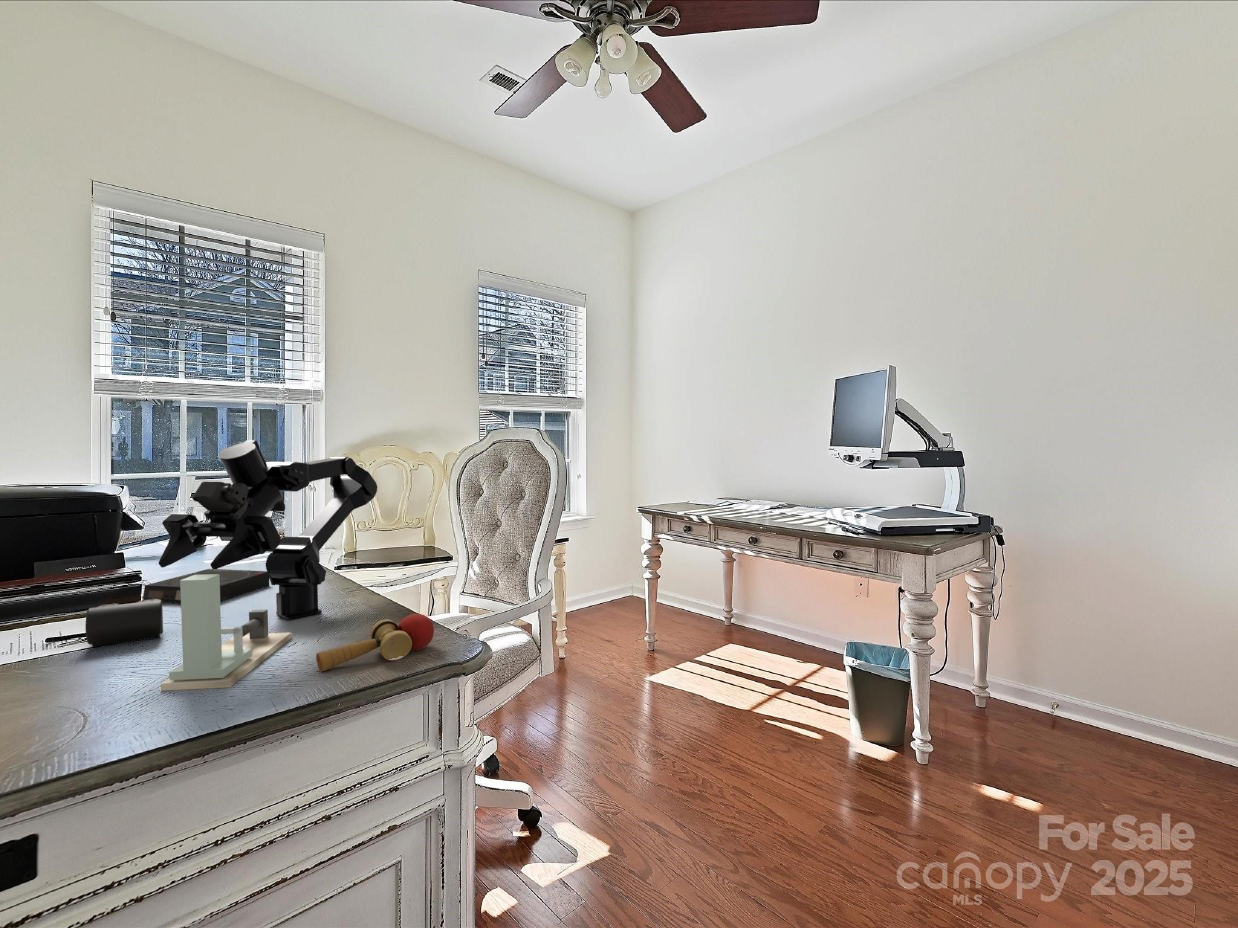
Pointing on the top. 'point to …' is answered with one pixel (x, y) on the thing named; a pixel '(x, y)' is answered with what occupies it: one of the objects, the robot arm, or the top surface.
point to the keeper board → (255, 640)
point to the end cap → (124, 622)
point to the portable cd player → (230, 585)
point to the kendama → (383, 641)
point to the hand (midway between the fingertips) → (186, 566)
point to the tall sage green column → (206, 632)
